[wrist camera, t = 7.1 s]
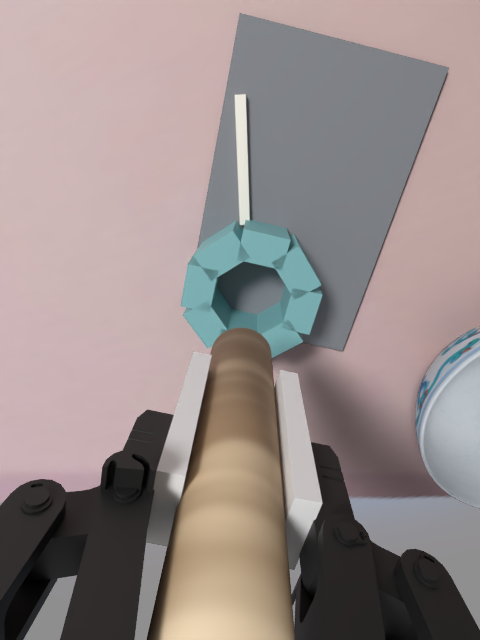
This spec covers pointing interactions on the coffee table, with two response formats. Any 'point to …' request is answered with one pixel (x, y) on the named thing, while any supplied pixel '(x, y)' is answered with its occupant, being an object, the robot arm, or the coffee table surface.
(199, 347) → the coffee table surface
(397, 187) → the mat
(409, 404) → the coffee table surface
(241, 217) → the white stick
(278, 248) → the bead
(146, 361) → the coffee table surface
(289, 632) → the wooden rod
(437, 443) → the chinaware
